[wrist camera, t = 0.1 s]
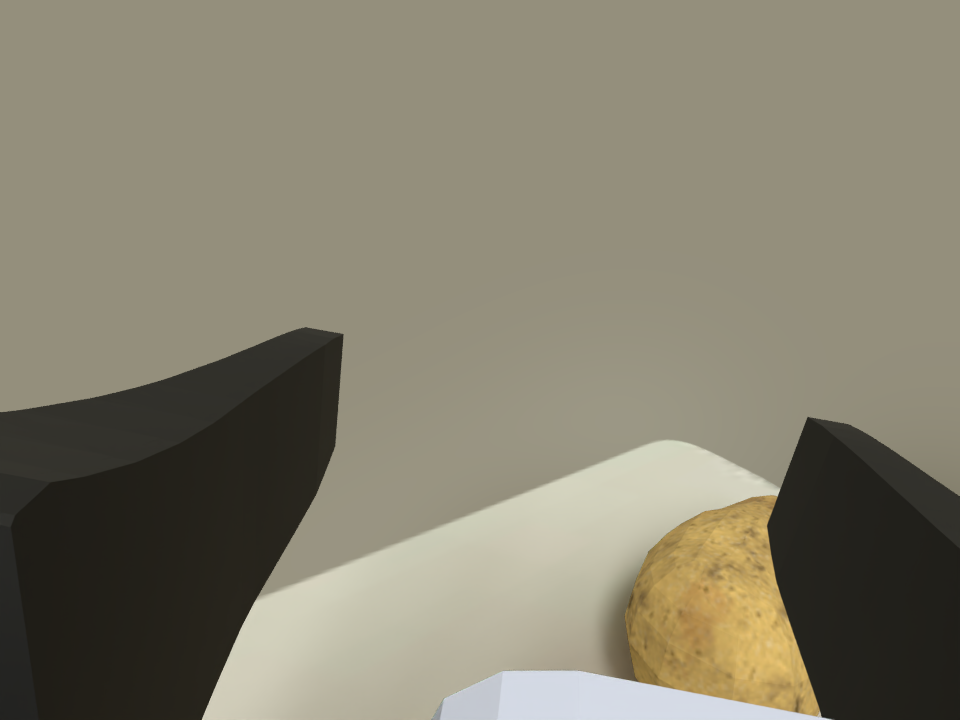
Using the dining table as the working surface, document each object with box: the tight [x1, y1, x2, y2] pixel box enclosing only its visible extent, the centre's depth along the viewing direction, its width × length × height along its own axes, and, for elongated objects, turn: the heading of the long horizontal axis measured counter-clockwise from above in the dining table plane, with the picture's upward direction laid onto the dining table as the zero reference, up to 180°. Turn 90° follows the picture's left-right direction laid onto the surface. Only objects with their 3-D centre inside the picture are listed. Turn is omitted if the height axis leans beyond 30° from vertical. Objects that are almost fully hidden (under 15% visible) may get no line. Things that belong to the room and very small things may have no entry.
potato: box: [625, 495, 820, 716], centre depth 36 cm, size 10×14×10 cm
